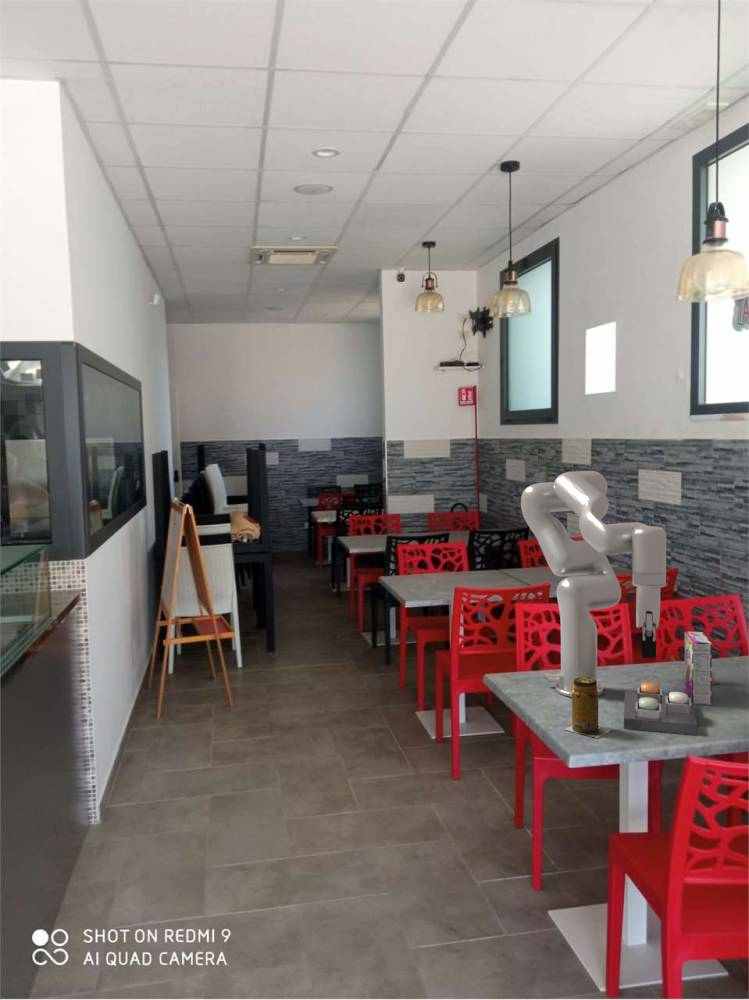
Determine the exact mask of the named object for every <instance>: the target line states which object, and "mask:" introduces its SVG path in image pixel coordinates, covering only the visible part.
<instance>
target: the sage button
mask: <svg viewBox="0 0 749 1000" xmlns="http://www.w3.org/2000/svg"><path fill="white" fill-rule="evenodd" d="M639 709H644V710H656V711H657V710H658V701H657V700H656V699H654V698H648V697H644V698H640V699H639Z"/></svg>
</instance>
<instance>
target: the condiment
mask: <svg viewBox="0 0 749 1000" xmlns="http://www.w3.org/2000/svg"><path fill="white" fill-rule="evenodd" d="M597 683H598V681H597V682H596V680H595V679H592V678H588V677H578V678H576V679H574V686H573V687H574V689H573V691H572V697H571V724H572V725H570V726H569V727H566V728H564V730H565V731H569V732H570V733H575V734H578V735H579V734H580V735H585V736H588V737H590V738H591V737H593V738H597V739H598V738H600V737H602V736H604V735H607V734H608V733H609V732H610V731H611V730H613V729H612V728H608V727H604V726H601V725H599V696H598V692H597V686H596V684H597ZM599 727H600V728H599ZM598 728H599V729H600V730H601V731H600V730H598Z"/></svg>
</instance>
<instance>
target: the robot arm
mask: <svg viewBox="0 0 749 1000" xmlns="http://www.w3.org/2000/svg"><path fill="white" fill-rule="evenodd" d="M607 493H608V482H607V480H606V478H605V477H604V476H603V474H601V472H598V471H596V470H580V471H579V470H578V471H566V472H563V473H561V474H560V475H558V476H557V477H556V478H555V479H554V482H553V481H549V482H548V481H547V482H538V483H534V484H531V485H529V486H527V487H526V488H525V489H524V490H523V491H522V493H521V496H520V498H521V499H520V508H521V509H520V510H521V512H522V513H521V514H522V515H523V519H524V520H525V522H526V524H527V526H528V527H529V529H530V530H531V532H532V534H533V535H534V536H535V539H536V540H537V542H538V545H539V546H540V547H539V548H540V550H541V552H542V553H543V556H544V558H545V560H546V562H547V565H548V567H549V569H550V570H551V573H553V574H554V575H555V576H557V577H564V579H562V580H561V581H560V582H559V583H558V585H557V588H556V599H557V604H558V609H559V617H560V618H559V619H560V670H559V672H556V673H551V672H550V673H548V672H545V673H544V681H547V682H548V683H555V685H554V688H555V689H554V690H555V692H557V693H558V694H560V695H562V696H565V697H569V698H570V697H571V698H572V691H573V689H574V687H573V686H574V679H576V678H578V677H588V678H592V679H595V680H596V682H597V684H596V686H597V692H598V697H599V696H601V695H602V694H603V693H604V687H603V686H602V685H601V684H599V683H598V630H597V629H598V627H597V624H596V621H595V620H594V618H593V617H592V615H591V614H590V611H594V610H601V609H602V610H604V609H609V608H613V607H615V606H617V605H618V603H619V602H620V601H621V598H622V590H621V589H622V588H621V585H620V582H619V580H618V578H617V576H616V573H615V571H614V569H613V567H612V565H611V563H610V561H609V559H608V557H607V556H615V555H624V554H625V555H628V554H632V557H631V558H632V559H631V560H632V561H631V562H632V564H631V565H632V566H631V567H632V569H631V571H632V573H631V574H632V575H631V580H632V581H631V582H632V583H631V585H632V586H634V587H636V592H635V593H636V595H635V596H636V597H635V601H636V602H635V611H636V613H635V620H636V621H635V623H636V625H635V627H636V629H640V628H642V631H641V632H640V633H641V634H640V635H641V637H640V638H641V643H640V644H641V657H642V658H646V659H647V658H649V659H655V658H657V640H656V630H657V629H659V623H660V616H661V615H660V612H661V588H664V587H667V532H666V530H665V529H664V528H663V527H660V526H655V525H653V526H652V525H647V524H646V523H642V522H638V521H637V522H632V521H631V522H620V523H605V522H604V521H602V519H603V518H604V517H605V516H606V514H607V513H608V511H609V507H610V506H609V505H610V501H609V500H608V499H609V498H608V497H607V496H606V495H607ZM569 511H570V512H571V511H572V512H573V513H574V514H575V515H576V516H578V518H579V520H578V524H579V527H578V528H579V531H580V534H581V536H582V538H583V539H584V540H573V539H572V538H571V537H570V535H569V533H568V531H567V529H566V527H565V525H564V524H563V523H562V522H561V521H560V520H559V518H557V517H555V516H553V515H552V514H551V513H555V512H556V513H557V512H558V513H559V512H569Z"/></svg>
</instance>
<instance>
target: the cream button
mask: <svg viewBox="0 0 749 1000" xmlns="http://www.w3.org/2000/svg"><path fill="white" fill-rule="evenodd" d="M668 695H669V703H673V704H686V705H687V704H688V695H687V693H686V692H681V691H671V692H669V694H668Z"/></svg>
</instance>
